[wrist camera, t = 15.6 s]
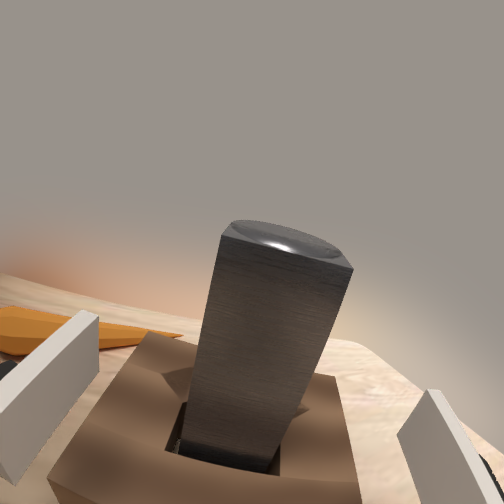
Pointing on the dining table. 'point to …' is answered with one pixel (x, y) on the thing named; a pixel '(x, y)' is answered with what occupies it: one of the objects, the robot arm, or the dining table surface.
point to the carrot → (45, 324)
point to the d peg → (260, 341)
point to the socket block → (190, 470)
